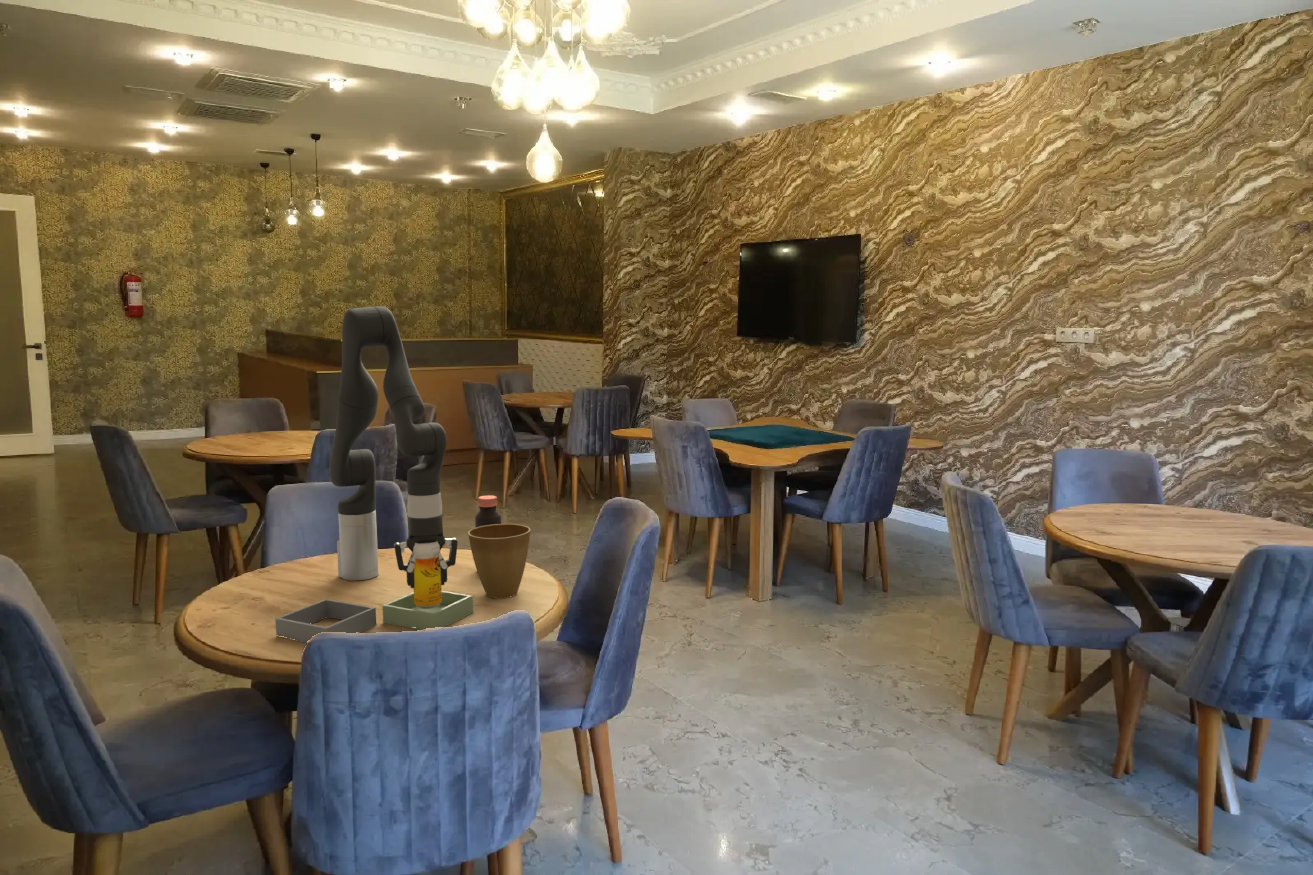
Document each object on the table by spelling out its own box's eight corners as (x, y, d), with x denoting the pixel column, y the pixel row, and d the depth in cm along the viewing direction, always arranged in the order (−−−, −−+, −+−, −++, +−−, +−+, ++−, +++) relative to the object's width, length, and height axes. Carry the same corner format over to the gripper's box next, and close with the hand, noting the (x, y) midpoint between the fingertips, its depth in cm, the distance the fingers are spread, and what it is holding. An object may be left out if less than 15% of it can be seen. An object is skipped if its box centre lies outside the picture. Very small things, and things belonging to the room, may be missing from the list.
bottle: (472, 573, 235) (470, 499, 232) (483, 566, 242) (481, 494, 239) (496, 575, 234) (494, 500, 231) (506, 568, 240) (504, 495, 237)
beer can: (434, 610, 198) (432, 545, 195) (409, 608, 199) (406, 543, 197) (446, 602, 203) (444, 538, 201) (421, 600, 205) (419, 536, 202)
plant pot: (534, 584, 226) (533, 522, 224) (528, 603, 211) (526, 537, 209) (475, 584, 225) (473, 523, 223) (464, 604, 211) (462, 538, 208)
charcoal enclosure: (276, 636, 190) (275, 618, 189) (327, 615, 203) (326, 598, 202) (327, 647, 184) (326, 628, 183) (376, 625, 197) (375, 607, 196)
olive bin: (383, 622, 198) (382, 605, 198) (424, 604, 211) (423, 587, 210) (433, 632, 192) (433, 614, 192) (473, 612, 205) (472, 595, 204)
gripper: (392, 519, 192) (395, 594, 195) (460, 513, 197) (462, 587, 199) (390, 511, 199) (393, 584, 202) (455, 506, 204) (457, 577, 206)
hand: (427, 585), depth 201 cm, fingers closed on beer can, 6 cm apart
